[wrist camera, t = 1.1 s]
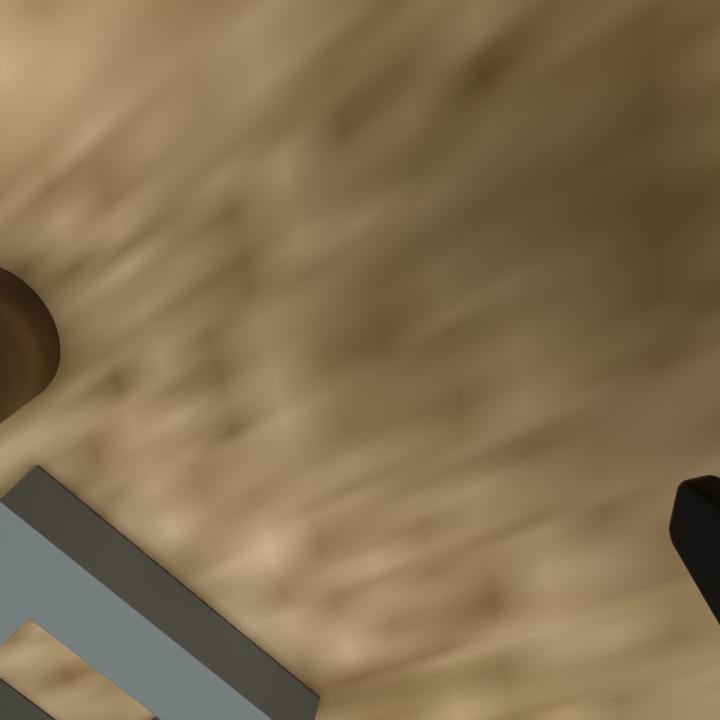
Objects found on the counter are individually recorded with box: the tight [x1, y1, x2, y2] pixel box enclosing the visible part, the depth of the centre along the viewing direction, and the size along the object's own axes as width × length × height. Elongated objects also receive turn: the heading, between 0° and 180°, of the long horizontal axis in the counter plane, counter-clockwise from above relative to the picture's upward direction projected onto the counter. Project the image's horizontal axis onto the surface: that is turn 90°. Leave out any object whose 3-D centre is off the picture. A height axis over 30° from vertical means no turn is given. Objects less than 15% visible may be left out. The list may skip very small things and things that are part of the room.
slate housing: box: [0, 466, 320, 720], centre depth 27 cm, size 14×14×2 cm
